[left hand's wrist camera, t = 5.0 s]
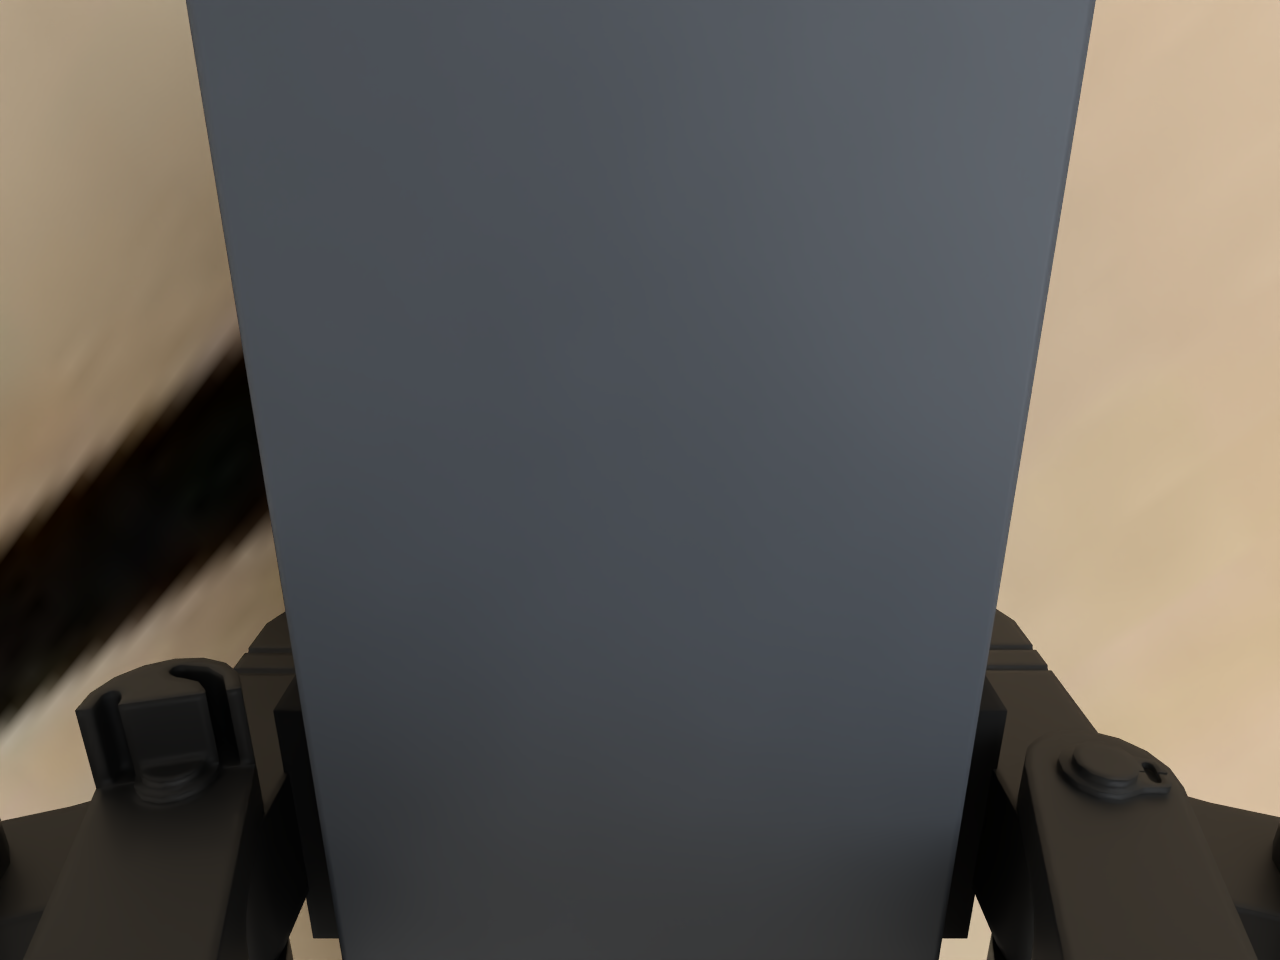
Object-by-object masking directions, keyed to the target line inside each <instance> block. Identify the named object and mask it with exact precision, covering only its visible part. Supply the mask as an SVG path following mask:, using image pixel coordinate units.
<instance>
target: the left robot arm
mask: <svg viewBox="0 0 1280 960" xmlns="http://www.w3.org/2000/svg"><path fill="white" fill-rule="evenodd" d="M1032 646H1033V645H1032V644H1031V642H1030V641H1029V640H1028V638H1027V637H1026V636H1025V634H1024V633H1023V632H1022V630H1021V629H1020V628H1019V626H1018V625H1017V624H1016V622H1015V621H1014V620H1012V619H1011V618H1009V617H1008V616H1006V615H1005V614H1003V613H1002V612H1000V611H999V610H997V609H996V612H995V618H994V624H993V630H992V636H991V642H990V648H989V655H988V661H987V667H986V673H985V679H984V685H983V691H982V697H981V703H980V710H979V716H978V722H977V728H976V734H975V740H974V746H973V752H972V758H971V765H970V771H969V777H968V783H967V789H966V795H965V801H964V807H963V813H962V820H961V826H960V832H959V838H958V844H957V850H956V856H955V862H954V868H953V875H952V881H951V887H950V893H949V899H948V905H947V911H946V917H945V923H944V930H943V936H942V938H967V937H968V931H969V925H970V920H971V914H972V908H973V903H974V897H975V895H976V897H977V900H978V902H979V904H980V907H981V909H982V911H983V914H984V916H985V918H986V920H987V923H988V925H989V927H990V930H991V932H992V935H991V940H990V945H989V950H988V956H987V960H1280V817H1276V816H1271V815H1266V814H1261V813H1257V812H1252V811H1247V810H1242V809H1238V808H1233V807H1228V806H1223V805H1218V804H1214V803H1209V802H1206V801H1202V800H1198V799H1195V798H1191V797H1188V796H1187V794H1186V791H1185V789H1184V787H1183V786H1182V784H1181V783H1180V782H1179V780H1178V779H1177V777H1176V776H1175V775H1174V773H1173V772H1172V771H1171V769H1170V768H1169V767H1167V766H1166V765H1165V764H1163V763H1162V762H1161V761H1159V760H1158V759H1157V758H1155V757H1154V756H1153V755H1151V754H1150V753H1149V752H1147V751H1145V750H1143V749H1141V748H1139V747H1137V746H1134V745H1132V744H1130V743H1128V742H1126V741H1124V740H1121V739H1119V738H1116V737H1112V736H1108V735H1103V734H1099V733H1098V732H1097V731H1096V730H1095V728H1094V727H1093V726H1092V724H1091V723H1090V722H1089V720H1088V719H1087V718H1086V716H1085V715H1084V714H1083V712H1082V711H1081V710H1080V708H1079V707H1078V706H1077V704H1076V703H1075V701H1074V700H1073V699H1072V697H1071V696H1070V695H1069V693H1068V692H1067V691H1066V689H1065V688H1064V687H1063V685H1062V684H1061V683H1060V681H1059V680H1058V679H1057V677H1056V676H1055V675H1054V673H1053V672H1052V671H1048V668H1047V666H1048V665H1047V664H1046V663H1045V661H1044V660H1043V659H1042V657H1041V656H1040V655H1039V653H1038V652H1037V650H1033V648H1032ZM75 712H76V716H77V719H78V723H79V727H80V730H81V734H82V738H83V741H84V745H85V749H86V752H87V756H88V760H89V763H90V767H91V771H92V774H93V778H94V782H95V785H96V791H95V793H94V795H93V798H92V800H91V801H89V802H85V803H82V804H78V805H75V806H71V807H66V808H61V809H57V810H52V811H47V812H42V813H38V814H33V815H28V816H24V817H19V818H14V819H9V820H5V821H1V819H0V960H293V956H292V950H291V945H290V940H289V936H290V933H291V931H292V929H293V926H294V924H295V922H296V919H297V917H298V915H299V912H300V910H301V908H302V905H303V903H304V901H305V898H306V900H307V905H308V911H309V916H310V922H311V928H312V933H313V938H339V936H338V930H337V923H336V917H335V911H334V905H333V899H332V893H331V887H330V881H329V874H328V868H327V862H326V856H325V850H324V844H323V838H322V831H321V825H320V819H319V813H318V807H317V801H316V795H315V789H314V782H313V776H312V770H311V764H310V758H309V752H308V746H307V740H306V733H305V727H304V721H303V715H302V709H301V703H300V697H299V690H298V684H297V678H296V672H295V666H294V660H293V654H292V648H291V641H290V635H289V629H288V623H287V617H286V611H285V612H284V613H282V614H281V615H279V616H278V617H276V618H275V619H273V620H272V621H270V622H269V623H267V624H266V625H265V627H264V628H263V629H262V631H261V632H260V633H259V635H258V636H257V638H256V639H255V640H254V642H253V643H252V644H251V646H250V647H249V652H248V653H245V654H244V655H243V656H242V658H241V659H240V661H239V662H238V663H237V665H236V666H235V667H234V669H233V668H232V667H230V666H229V665H228V664H226V663H224V662H220V661H215V660H211V659H206V658H183V659H172V660H167V661H163V662H158V663H153V664H149V665H144V666H142V667H139V668H137V669H134V670H132V671H129V672H127V673H124V674H122V675H119V676H117V677H114V678H113V679H111V680H110V681H108V682H107V683H105V684H104V685H102V686H100V687H99V688H97V689H96V690H94V691H93V692H91V693H90V694H89V695H88V696H87V697H86V699H85V700H84V701H83V702H82V703H81V704H80V706H79V707H78V708H77V709H76V710H75Z"/></svg>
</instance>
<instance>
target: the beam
mask: <svg viewBox="0 0 1280 960" xmlns="http://www.w3.org/2000/svg"><path fill="white" fill-rule="evenodd" d="M1095 1H1096V0H186V4H187V10H188V16H189V22H190V29H191V35H192V41H193V47H194V53H195V59H196V65H197V71H198V78H199V84H200V90H201V96H202V102H203V108H204V114H205V120H206V127H207V133H208V139H209V145H210V151H211V157H212V163H213V170H214V176H215V182H216V188H217V194H218V200H219V206H220V212H221V219H222V225H223V231H224V237H225V243H226V249H227V255H228V261H229V268H230V274H231V280H232V286H233V292H234V298H235V304H236V310H237V317H238V323H239V329H240V335H241V341H242V347H243V353H244V360H245V366H246V372H247V378H248V384H249V390H250V396H251V402H252V409H253V415H254V421H255V427H256V433H257V439H258V445H259V451H260V458H261V464H262V470H263V476H264V482H265V488H266V494H267V500H268V507H269V513H270V519H271V525H272V531H273V537H274V543H275V550H276V556H277V562H278V568H279V574H280V580H281V586H282V592H283V599H284V605H285V611H286V617H287V623H288V629H289V635H290V641H291V648H292V654H293V660H294V666H295V672H296V678H297V684H298V690H299V697H300V703H301V709H302V715H303V721H304V727H305V733H306V740H307V746H308V752H309V758H310V764H311V770H312V776H313V782H314V789H315V795H316V801H317V807H318V813H319V819H320V825H321V831H322V838H323V844H324V850H325V856H326V862H327V868H328V874H329V881H330V887H331V893H332V899H333V905H334V911H335V917H336V923H337V930H338V936H339V942H340V948H341V954H342V960H939V954H940V948H941V942H942V936H943V930H944V923H945V917H946V911H947V905H948V899H949V893H950V887H951V881H952V875H953V868H954V862H955V856H956V850H957V844H958V838H959V832H960V826H961V820H962V813H963V807H964V801H965V795H966V789H967V783H968V777H969V771H970V765H971V758H972V752H973V746H974V740H975V734H976V728H977V722H978V716H979V710H980V703H981V697H982V691H983V685H984V679H985V673H986V667H987V661H988V655H989V648H990V642H991V636H992V630H993V624H994V618H995V612H996V606H997V600H998V594H999V587H1000V581H1001V575H1002V569H1003V563H1004V557H1005V551H1006V545H1007V539H1008V532H1009V526H1010V520H1011V514H1012V508H1013V502H1014V496H1015V490H1016V484H1017V477H1018V471H1019V465H1020V459H1021V453H1022V447H1023V441H1024V435H1025V429H1026V422H1027V416H1028V410H1029V404H1030V398H1031V392H1032V386H1033V380H1034V374H1035V367H1036V361H1037V355H1038V349H1039V343H1040V337H1041V331H1042V325H1043V319H1044V312H1045V306H1046V300H1047V294H1048V288H1049V282H1050V276H1051V270H1052V264H1053V257H1054V251H1055V245H1056V239H1057V233H1058V227H1059V221H1060V215H1061V209H1062V202H1063V196H1064V190H1065V184H1066V178H1067V172H1068V166H1069V160H1070V154H1071V147H1072V141H1073V135H1074V129H1075V123H1076V117H1077V111H1078V105H1079V99H1080V92H1081V86H1082V80H1083V74H1084V68H1085V62H1086V56H1087V50H1088V44H1089V37H1090V31H1091V25H1092V19H1093V13H1094V7H1095Z"/></svg>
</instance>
